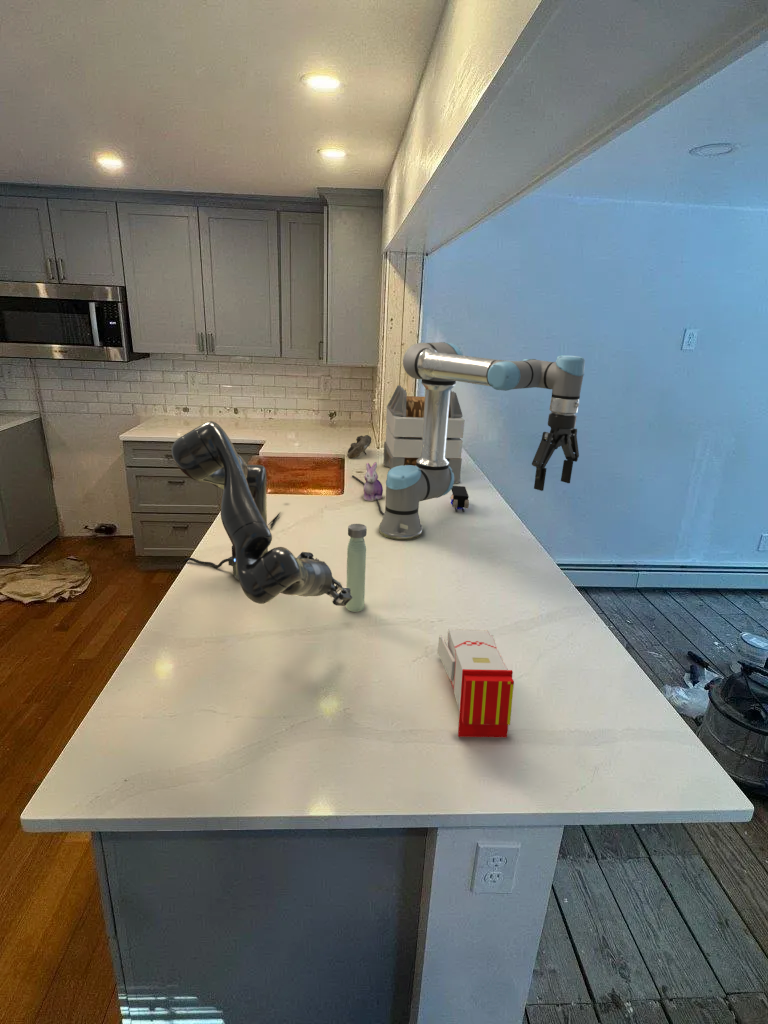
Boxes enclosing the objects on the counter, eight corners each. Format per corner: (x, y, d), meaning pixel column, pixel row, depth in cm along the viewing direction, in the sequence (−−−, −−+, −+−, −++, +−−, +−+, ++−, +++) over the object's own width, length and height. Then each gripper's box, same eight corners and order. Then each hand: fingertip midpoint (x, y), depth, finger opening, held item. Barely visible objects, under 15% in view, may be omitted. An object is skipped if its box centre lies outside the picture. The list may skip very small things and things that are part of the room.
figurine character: (469, 517, 223) (463, 501, 236) (471, 500, 219) (465, 484, 233) (452, 516, 222) (447, 500, 236) (454, 499, 219) (449, 483, 232)
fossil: (347, 441, 314) (368, 426, 309) (358, 454, 317) (379, 439, 312) (341, 455, 294) (363, 439, 289) (352, 469, 297) (375, 453, 292)
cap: (346, 531, 144) (346, 524, 144) (363, 530, 146) (364, 523, 145) (350, 538, 140) (350, 530, 139) (368, 537, 141) (368, 529, 141)
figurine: (367, 502, 230) (368, 467, 225) (357, 495, 238) (358, 460, 233) (388, 500, 234) (389, 465, 229) (377, 492, 242) (378, 458, 237)
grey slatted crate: (382, 463, 289) (386, 382, 275) (445, 464, 293) (451, 384, 279) (390, 482, 257) (394, 392, 243) (460, 483, 261) (468, 394, 247)
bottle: (344, 603, 151) (346, 525, 144) (361, 602, 153) (364, 524, 145) (348, 612, 147) (350, 532, 139) (365, 610, 148) (368, 531, 141)
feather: (287, 506, 225) (290, 502, 224) (270, 530, 198) (272, 526, 198) (283, 504, 225) (286, 500, 224) (265, 527, 198) (268, 523, 197)
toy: (488, 613, 130) (523, 677, 101) (484, 667, 133) (517, 744, 104) (435, 612, 130) (455, 676, 101) (432, 666, 133) (451, 743, 103)
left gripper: (272, 566, 117) (304, 569, 132) (317, 616, 113) (344, 613, 128) (297, 539, 116) (325, 546, 131) (343, 589, 112) (367, 589, 127)
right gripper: (548, 419, 148) (537, 496, 155) (598, 411, 163) (586, 482, 171) (525, 414, 153) (515, 489, 160) (575, 407, 169) (564, 476, 176)
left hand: (334, 579), depth 130 cm, fingers open, 8 cm apart
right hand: (552, 485), depth 166 cm, fingers open, 13 cm apart
